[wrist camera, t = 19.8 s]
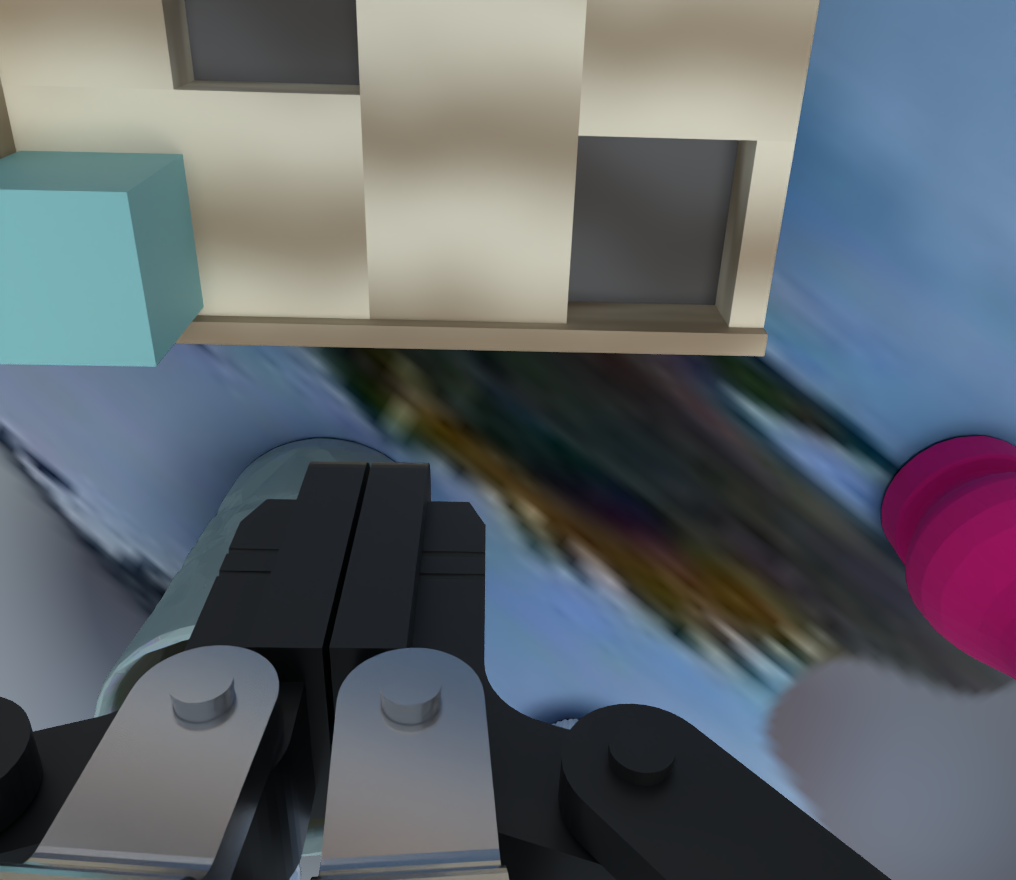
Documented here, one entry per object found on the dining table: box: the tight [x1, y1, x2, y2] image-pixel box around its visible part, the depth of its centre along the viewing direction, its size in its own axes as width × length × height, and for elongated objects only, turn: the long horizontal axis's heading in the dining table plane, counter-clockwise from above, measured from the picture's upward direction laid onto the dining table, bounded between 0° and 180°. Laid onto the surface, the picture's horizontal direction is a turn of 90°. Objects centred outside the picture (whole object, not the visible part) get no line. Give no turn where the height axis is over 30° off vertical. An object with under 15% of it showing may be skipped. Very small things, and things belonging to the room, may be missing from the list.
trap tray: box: [0, 0, 820, 356], centre depth 28 cm, size 15×25×4 cm, turn 88°
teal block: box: [0, 151, 204, 367], centre depth 28 cm, size 5×5×5 cm
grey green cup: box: [95, 438, 394, 857], centre depth 33 cm, size 10×10×12 cm
